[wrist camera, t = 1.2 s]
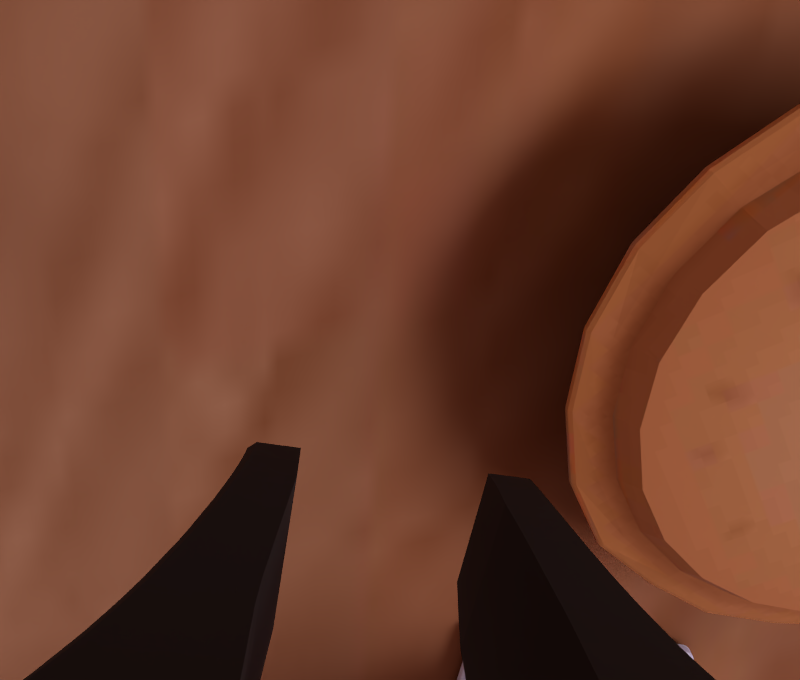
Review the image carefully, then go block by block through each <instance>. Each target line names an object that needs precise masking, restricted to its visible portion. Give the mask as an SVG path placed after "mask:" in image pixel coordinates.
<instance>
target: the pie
mask: <svg viewBox="0 0 800 680" xmlns="http://www.w3.org/2000/svg"><path fill="white" fill-rule="evenodd" d="M565 416H566V434H567V453H568V472H569V483H570V485H571V487H572V489H573V491H574V494H575V496H576V498H577V500H578V502H579V504H580V507H581V509H582V511H583V513H584V515H585V517H586V520H587V522H588V524H589V526H590V528H591V530H592V533H593V535H594V537H595V539H596V541H597V543H598V544H599V545H600V546H601V547H602V548H603V549H605V550H606V551H607V552H609V553H610V554H611V555H613V556H614V557H615V558H617V559H618V560H619V561H621V562H622V563H624V564H625V565H626V566H628V567H629V568H630V569H632V570H633V571H634V572H636V573H637V574H638V575H640V576H641V577H642V578H644V579H645V580H646V581H648V582H649V583H650V584H652V585H654V586H656V587H658V588H660V589H662V590H664V591H666V592H668V593H669V594H671V595H673V596H675V597H677V598H679V599H681V600H683V601H685V602H687V603H689V604H691V605H693V606H695V607H696V608H698V609H700V610H702V611H704V612H707V613H713V614H719V615H726V616H732V617H739V618H745V619H752V620H758V621H765V622H771V623H793V624H800V104H798V105H797V106H795V107H794V108H792V109H791V110H789V111H788V112H786V113H785V114H784V115H782V116H781V117H779V118H778V119H776V120H775V121H773V122H772V123H770V124H769V125H767V126H766V127H764V128H763V129H761V130H760V131H758V132H757V133H755V134H754V135H752V136H751V137H749V138H748V139H746V140H745V141H743V142H742V143H740V144H739V145H738V146H736V147H735V148H733V149H732V150H730V151H729V152H727V153H726V154H724V155H723V156H721V157H720V158H718V159H717V160H715V161H714V162H712V163H711V164H709V165H708V166H706V167H705V168H704V169H703V170H702V171H701V172H700V173H699V174H698V175H697V176H696V177H695V178H694V179H693V180H692V181H691V182H690V183H689V184H688V186H687V187H686V188H685V189H684V190H683V191H682V192H681V193H680V194H679V195H678V196H677V197H676V198H675V199H674V200H673V201H672V202H671V203H670V204H669V205H668V206H667V207H666V208H665V209H664V210H663V211H662V212H661V213H660V214H659V215H658V216H657V217H656V218H655V219H654V220H653V221H652V222H651V223H650V224H649V225H648V226H647V227H646V228H645V229H644V230H643V231H642V233H641V234H640V235H639V236H638V237H637V238H636V239H635V240H634V241H633V242H632V243H631V245H630V247H629V248H628V250H627V252H626V254H625V255H624V257H623V259H622V261H621V263H620V264H619V266H618V268H617V270H616V271H615V273H614V275H613V277H612V279H611V280H610V282H609V284H608V286H607V287H606V289H605V291H604V293H603V295H602V296H601V298H600V300H599V302H598V303H597V305H596V307H595V309H594V311H593V312H592V314H591V316H590V318H589V319H588V321H587V323H586V325H585V327H584V330H583V334H582V339H581V343H580V347H579V351H578V356H577V360H576V364H575V368H574V373H573V377H572V381H571V385H570V390H569V394H568V398H567V403H566V407H565Z"/></svg>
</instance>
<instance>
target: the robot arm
mask: <svg viewBox="0 0 800 680" xmlns="http://www.w3.org/2000/svg"><path fill="white" fill-rule="evenodd" d="M300 450H301V448H296V447H289V446H281V445H274V444H266V443H259V442H256V443H255V444H253V445H252V446H250V447H248V448H247V450H246V452H245V454H244V456H243V458H242V459H241V461H240V463H239V464H238V466H237V467H236V469H235V470H234V472H233V473H232V475H231V476H230V478H229V479H228V481H227V482H226V483H225V485H224V486H223V487H222V489H221V490H220V491H219V493H218V494H217V495H216V497H215V498H214V499H213V500H212V502H211V503H210V504H209V505H208V506H207V508H206V509H205V510H204V511H203V512H202V514H201V515H200V516H199V517H198V519H197V520H196V521H195V522H194V523H193V525H192V526H191V527H190V528H189V529H188V531H187V532H186V533H185V534H184V535H183V536H182V537H181V538H180V540H179V541H178V542H177V543H176V544H175V545H174V546H173V547H172V548H171V549H170V550H169V551H168V552H167V553H166V554H165V555H164V556H163V557H162V558H161V559H160V560H159V562H158V563H157V564H156V565H155V566H154V567H153V568H152V569H151V570H150V571H149V572H148V573H147V574H146V575H145V576H144V577H143V578H142V579H141V580H140V581H139V582H138V583H137V584H136V585H135V586H134V587H133V588H132V589H131V590H130V591H129V592H128V593H127V594H125V595H124V596H123V597H122V598H121V599H120V600H119V601H118V602H117V603H116V604H115V605H114V606H112V607H111V608H110V609H109V610H108V611H107V612H106V613H105V614H103V615H102V616H101V617H100V618H99V619H98V620H97V621H95V622H94V623H93V624H92V625H91V626H90V627H89V628H87V629H86V630H85V631H84V632H83V633H82V634H80V635H79V636H78V637H77V638H76V639H74V640H73V641H72V642H70V643H69V644H68V645H67V646H65V647H64V648H63V649H62V650H60V651H59V652H58V653H57V654H55V655H54V656H53V657H52V658H50V659H49V660H48V661H47V662H45V663H44V664H43V665H42V666H40V667H39V668H38V669H37V670H35V671H34V672H33V673H31V674H30V675H29V676H27V677H26V678H25V679H23V680H260V679H261V675H262V671H263V667H264V663H265V659H266V655H267V651H268V647H269V643H270V639H271V635H272V631H273V625H274V619H275V612H276V606H277V600H278V593H279V587H280V580H281V574H282V568H283V561H284V555H285V548H286V542H287V536H288V529H289V523H290V516H291V510H292V503H293V497H294V491H295V484H296V478H297V471H298V464H299V457H300ZM457 588H458V612H459V630H460V646H461V654H462V660H463V662H462V665H461V668H460V671H459V675H458V678H457V680H715V679H714V678H713V677H712V676H711V675H710V674H709V673H707V672H706V671H705V670H704V669H703V668H702V667H701V666H700V665H699V664H698V663H696V662H695V661H694V660H693V659H694V658H693V656H692V653H691V651H690V649H689V648H688V647H687V646H685V645H682V644H677V643H676V642H675V641H674V640H673V639H672V638H671V637H670V636H669V635H668V634H667V633H666V632H665V631H664V630H663V629H662V628H661V627H660V626H659V625H658V624H657V623H656V622H655V621H654V620H653V619H652V618H651V617H650V616H649V615H648V614H647V613H646V612H645V611H644V610H643V609H642V608H641V607H640V605H639V604H638V603H637V602H636V601H635V600H634V599H633V598H632V597H631V596H630V595H629V594H628V592H627V591H626V590H625V589H624V588H623V587H622V586H621V585H620V584H619V583H618V581H617V580H616V579H615V578H614V577H613V576H612V575H611V574H610V573H609V571H608V570H607V569H606V568H605V567H604V566H603V564H602V563H601V562H600V561H599V560H598V559H597V558H596V556H595V555H594V554H593V553H592V552H591V551H590V549H589V548H588V547H587V546H586V545H585V544H584V542H583V541H582V540H581V539H580V538H579V536H578V535H577V534H576V533H575V532H574V530H573V529H572V528H571V527H570V526H569V524H568V523H567V522H566V521H565V520H564V518H563V517H562V516H561V515H560V514H559V512H558V511H557V510H556V509H555V508H554V506H553V505H552V504H551V503H550V502H549V500H548V499H547V498H546V497H545V496H544V494H543V493H542V492H541V491H540V490H539V489H538V487H537V486H536V485H535V484H534V483H533V482H532V481H531V480H530V479H526V478H519V477H511V476H504V475H496V474H488V477H487V481H486V484H485V488H484V491H483V495H482V498H481V502H480V505H479V509H478V512H477V515H476V519H475V522H474V526H473V529H472V533H471V536H470V540H469V543H468V547H467V550H466V553H465V557H464V560H463V564H462V567H461V571H460V574H459V578H458V581H457Z"/></svg>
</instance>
